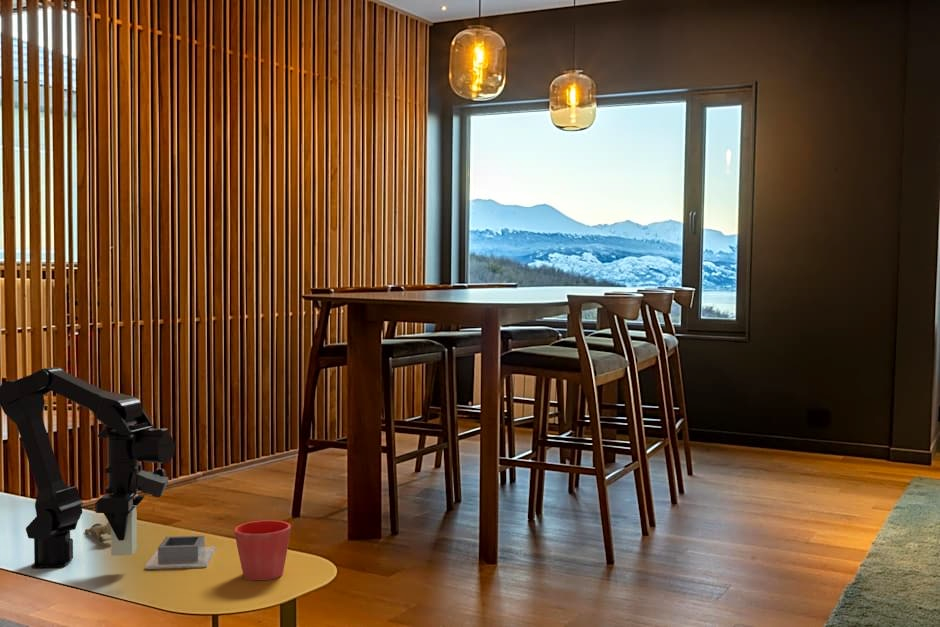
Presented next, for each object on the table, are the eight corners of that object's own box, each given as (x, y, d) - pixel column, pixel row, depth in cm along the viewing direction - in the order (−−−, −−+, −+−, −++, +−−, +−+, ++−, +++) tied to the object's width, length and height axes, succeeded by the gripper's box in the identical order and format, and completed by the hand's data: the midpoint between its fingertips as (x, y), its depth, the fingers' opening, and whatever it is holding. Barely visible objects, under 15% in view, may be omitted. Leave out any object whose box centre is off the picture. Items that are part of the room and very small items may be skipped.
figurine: (82, 542, 215) (110, 540, 204) (80, 522, 215) (108, 520, 205) (98, 539, 217) (126, 537, 207) (96, 519, 218) (124, 517, 208)
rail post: (111, 555, 185) (110, 510, 184) (116, 549, 189) (116, 505, 188) (132, 554, 185) (131, 510, 185) (137, 548, 189) (136, 505, 189)
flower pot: (235, 568, 189) (234, 521, 189) (289, 564, 192) (289, 518, 192) (234, 585, 179) (234, 535, 179) (292, 581, 182) (291, 532, 181)
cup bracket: (145, 569, 189) (145, 550, 189) (158, 551, 201) (158, 534, 200) (206, 567, 190) (206, 548, 190) (215, 549, 202) (215, 532, 202)
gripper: (154, 469, 178) (155, 549, 179) (173, 450, 196) (174, 523, 197) (93, 470, 177) (95, 551, 177) (119, 451, 195) (120, 525, 196)
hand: (124, 537), depth 187 cm, fingers closed on rail post, 4 cm apart
